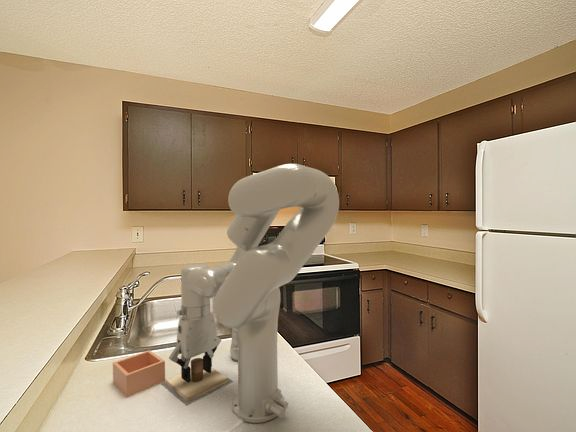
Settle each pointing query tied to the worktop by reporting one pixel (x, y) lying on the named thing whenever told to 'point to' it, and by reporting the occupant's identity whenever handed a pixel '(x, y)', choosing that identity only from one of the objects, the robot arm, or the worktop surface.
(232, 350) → the plastic bottle
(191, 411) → the worktop surface
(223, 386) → the mat
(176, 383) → the lid
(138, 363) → the pink open storage bin
